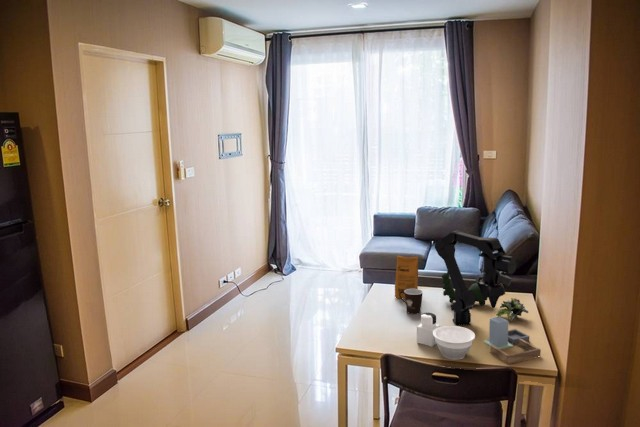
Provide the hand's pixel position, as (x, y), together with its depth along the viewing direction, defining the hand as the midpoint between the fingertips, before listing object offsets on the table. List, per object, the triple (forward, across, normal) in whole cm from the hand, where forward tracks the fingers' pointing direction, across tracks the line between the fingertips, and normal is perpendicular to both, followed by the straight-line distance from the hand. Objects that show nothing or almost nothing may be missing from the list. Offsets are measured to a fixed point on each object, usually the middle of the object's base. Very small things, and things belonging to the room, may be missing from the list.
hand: (489, 304), depth 207 cm
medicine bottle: (+13, -6, +27) cm, 31 cm away
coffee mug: (+13, +29, +27) cm, 42 cm away
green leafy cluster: (+13, +14, -16) cm, 25 cm away
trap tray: (+13, -6, -8) cm, 17 cm away
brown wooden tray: (+13, -20, -3) cm, 24 cm away
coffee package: (+13, +48, +26) cm, 56 cm away
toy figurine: (+13, +35, -2) cm, 37 cm away
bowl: (+13, -18, +20) cm, 30 cm away
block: (+12, -11, 0) cm, 17 cm away
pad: (+13, -11, 0) cm, 17 cm away
